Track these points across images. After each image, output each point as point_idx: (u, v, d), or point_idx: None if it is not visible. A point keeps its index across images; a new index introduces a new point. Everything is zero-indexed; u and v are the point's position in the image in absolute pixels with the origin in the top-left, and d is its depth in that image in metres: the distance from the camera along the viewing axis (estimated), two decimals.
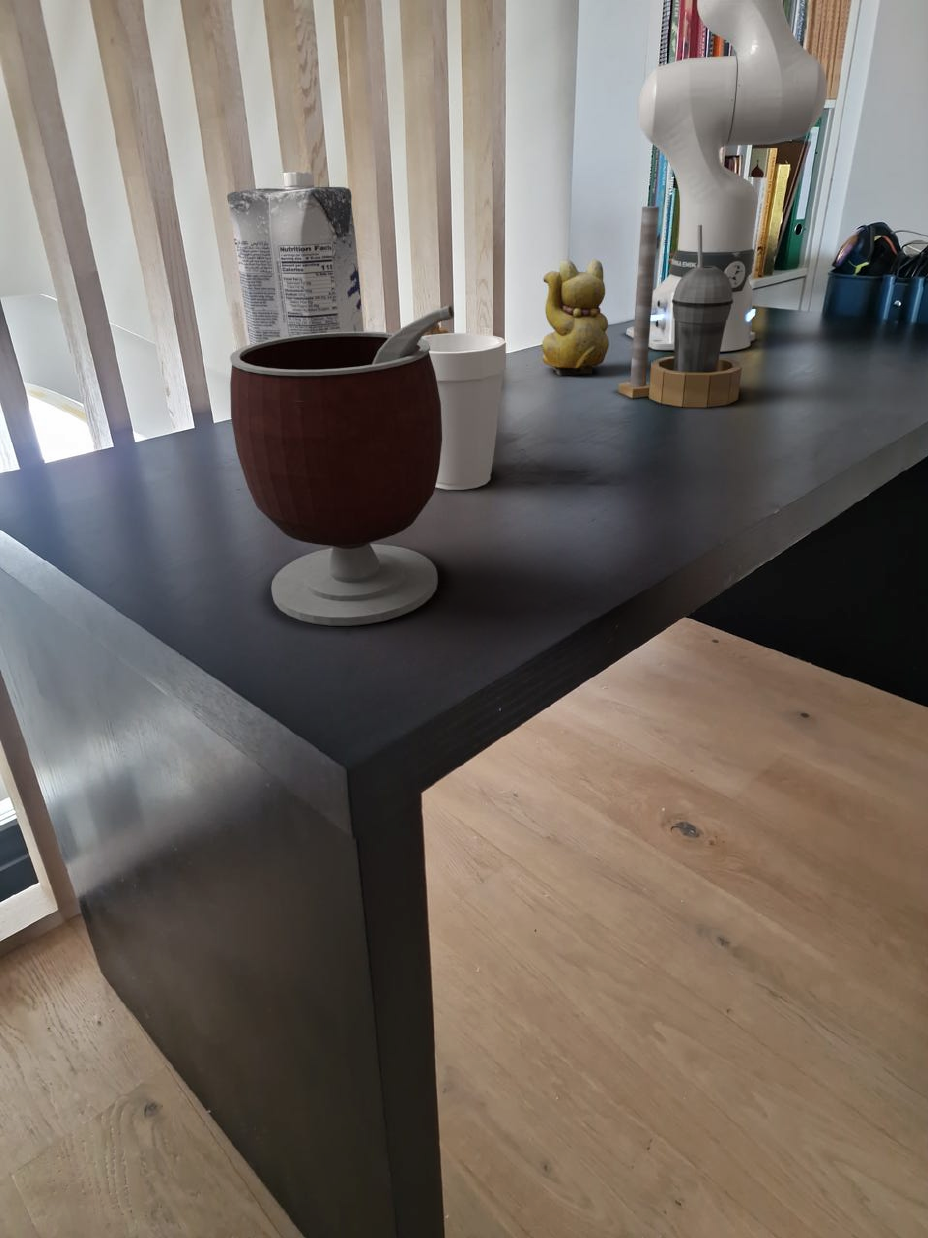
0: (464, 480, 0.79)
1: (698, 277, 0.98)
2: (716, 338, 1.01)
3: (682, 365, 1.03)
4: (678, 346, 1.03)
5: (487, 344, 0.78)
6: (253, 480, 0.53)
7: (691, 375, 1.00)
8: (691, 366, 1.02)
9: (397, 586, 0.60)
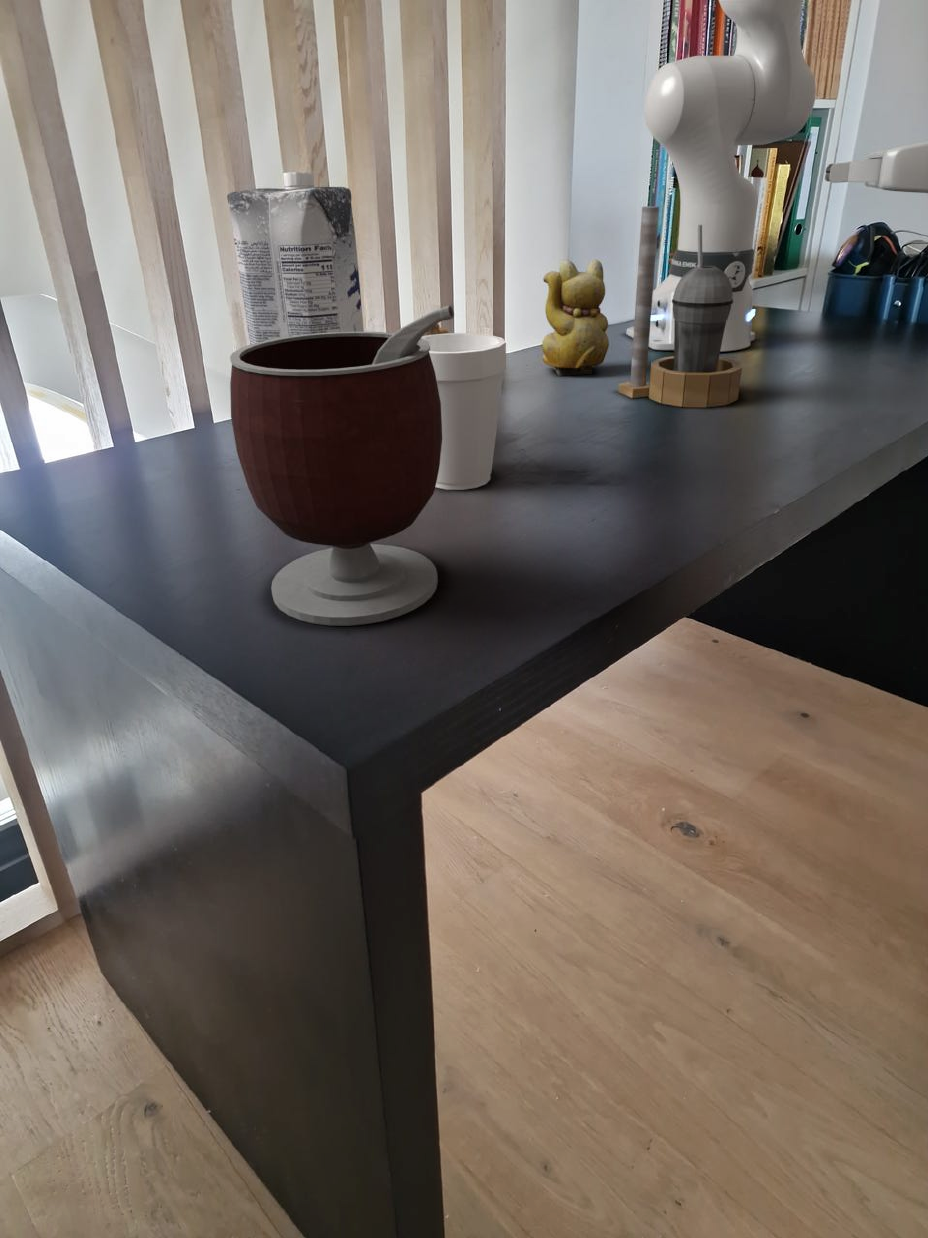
0: (464, 480, 0.79)
1: (698, 277, 0.98)
2: (716, 338, 1.01)
3: (682, 365, 1.03)
4: (678, 346, 1.03)
5: (487, 344, 0.78)
6: (253, 480, 0.53)
7: (691, 375, 1.00)
8: (691, 366, 1.02)
9: (397, 586, 0.60)
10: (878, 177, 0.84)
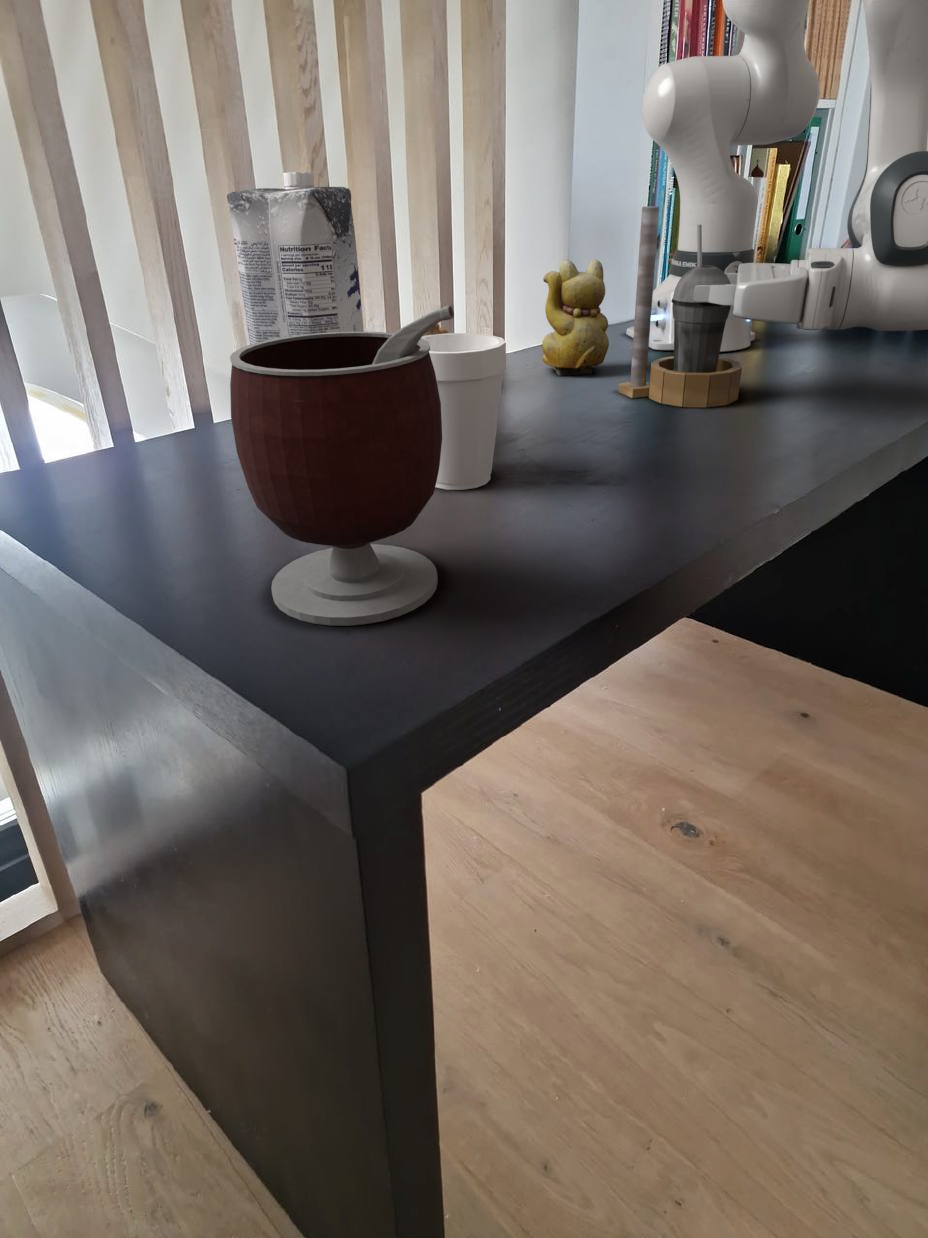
0: (464, 480, 0.79)
1: (698, 277, 0.98)
2: (716, 338, 1.01)
3: (682, 365, 1.03)
4: (678, 346, 1.03)
5: (487, 344, 0.78)
6: (253, 480, 0.53)
7: (691, 375, 1.00)
8: (691, 366, 1.02)
9: (397, 586, 0.60)
10: (733, 302, 0.95)
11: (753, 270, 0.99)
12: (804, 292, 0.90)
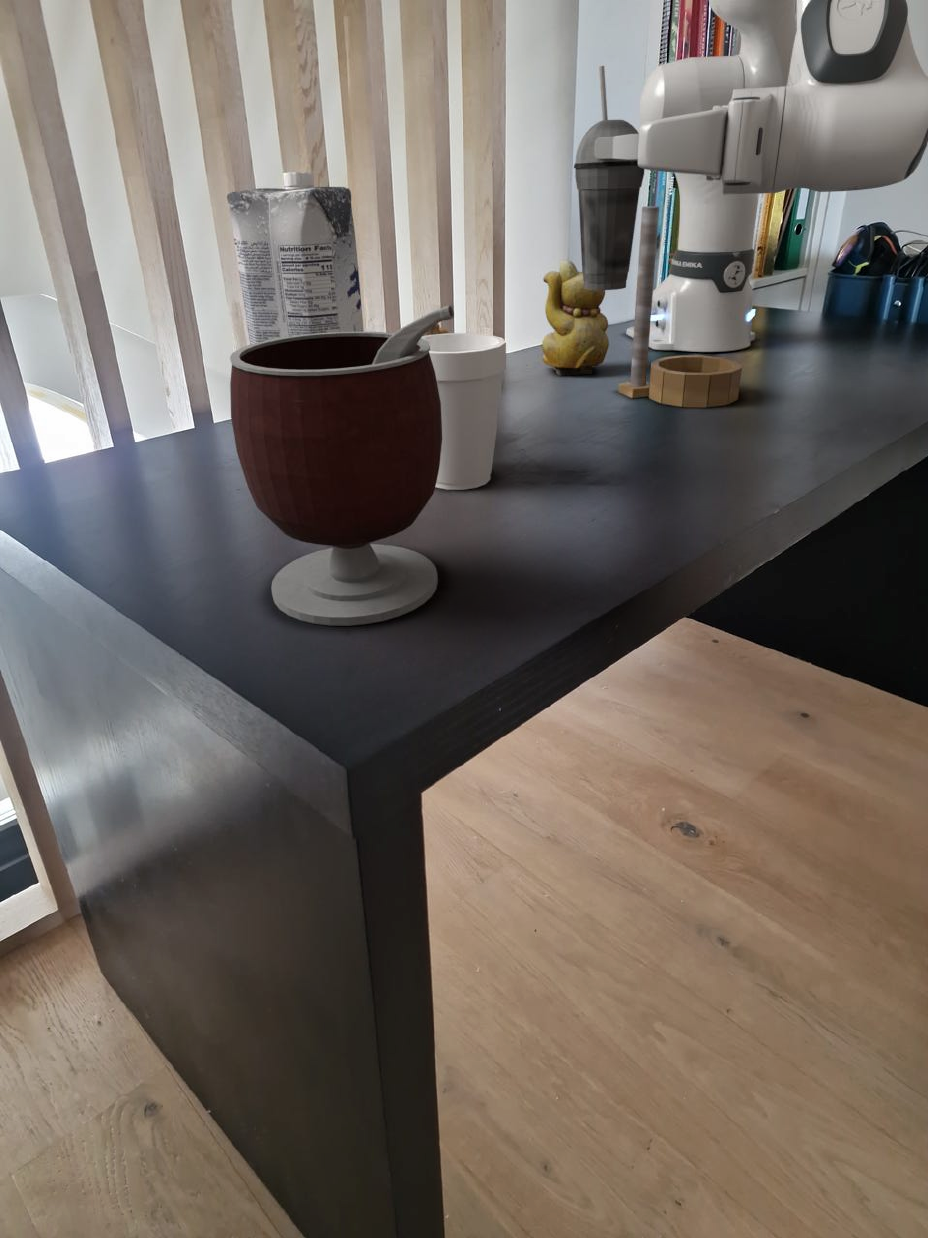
0: (464, 480, 0.79)
1: (601, 130, 0.80)
2: (627, 209, 0.83)
3: (589, 245, 0.85)
4: (583, 222, 0.85)
5: (487, 344, 0.78)
6: (253, 480, 0.53)
7: (691, 375, 1.00)
8: (599, 245, 0.85)
9: (397, 586, 0.60)
10: None
11: None
12: (723, 132, 0.73)
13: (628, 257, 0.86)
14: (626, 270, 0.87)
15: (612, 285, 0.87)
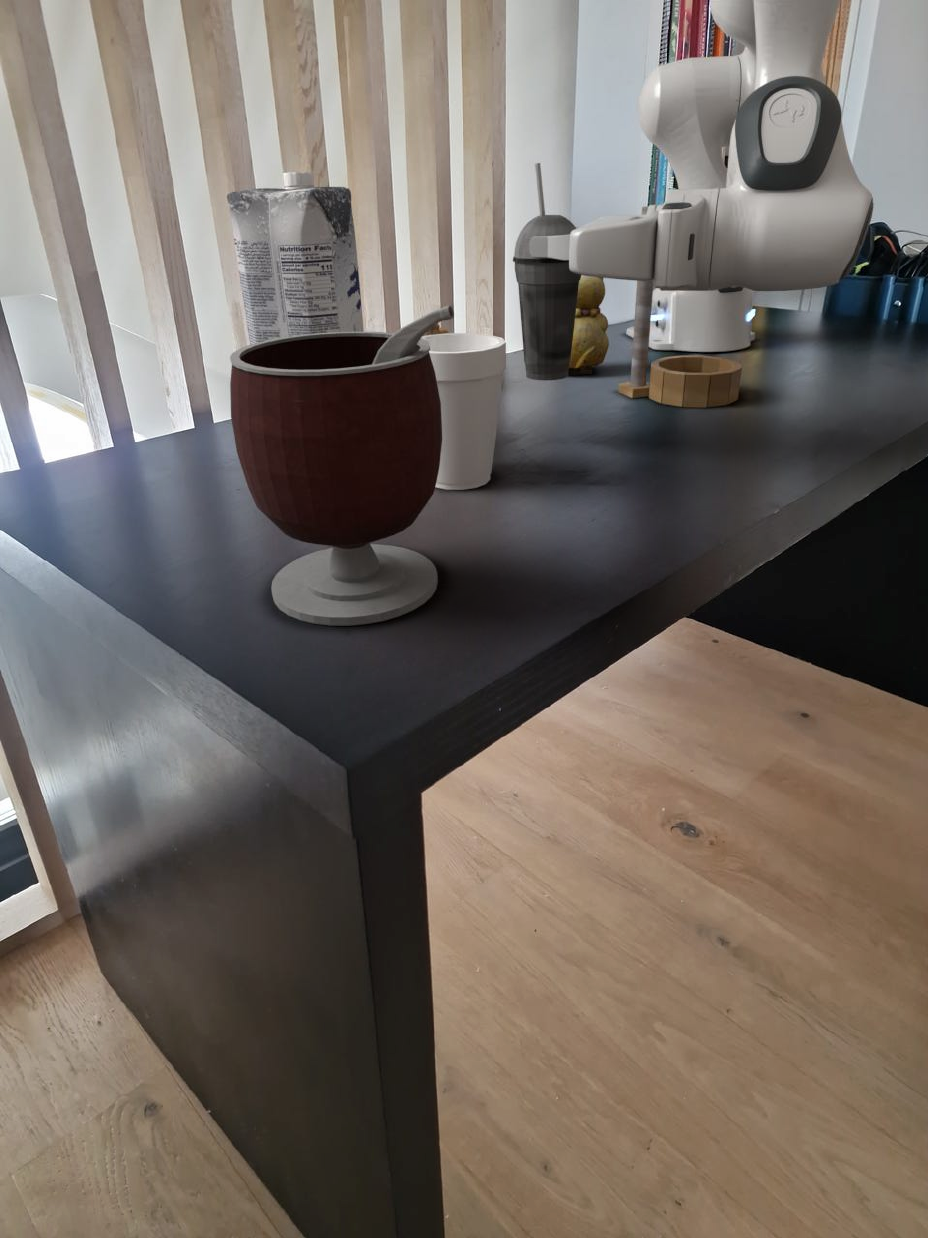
0: (464, 480, 0.79)
1: (538, 227, 0.80)
2: (565, 303, 0.83)
3: (529, 337, 0.85)
4: (523, 314, 0.85)
5: (487, 344, 0.78)
6: (253, 480, 0.53)
7: (691, 375, 1.00)
8: (538, 338, 0.84)
9: (397, 586, 0.60)
10: None
11: (607, 220, 0.81)
12: (653, 240, 0.72)
13: (569, 348, 0.86)
14: (567, 360, 0.86)
15: (553, 375, 0.86)
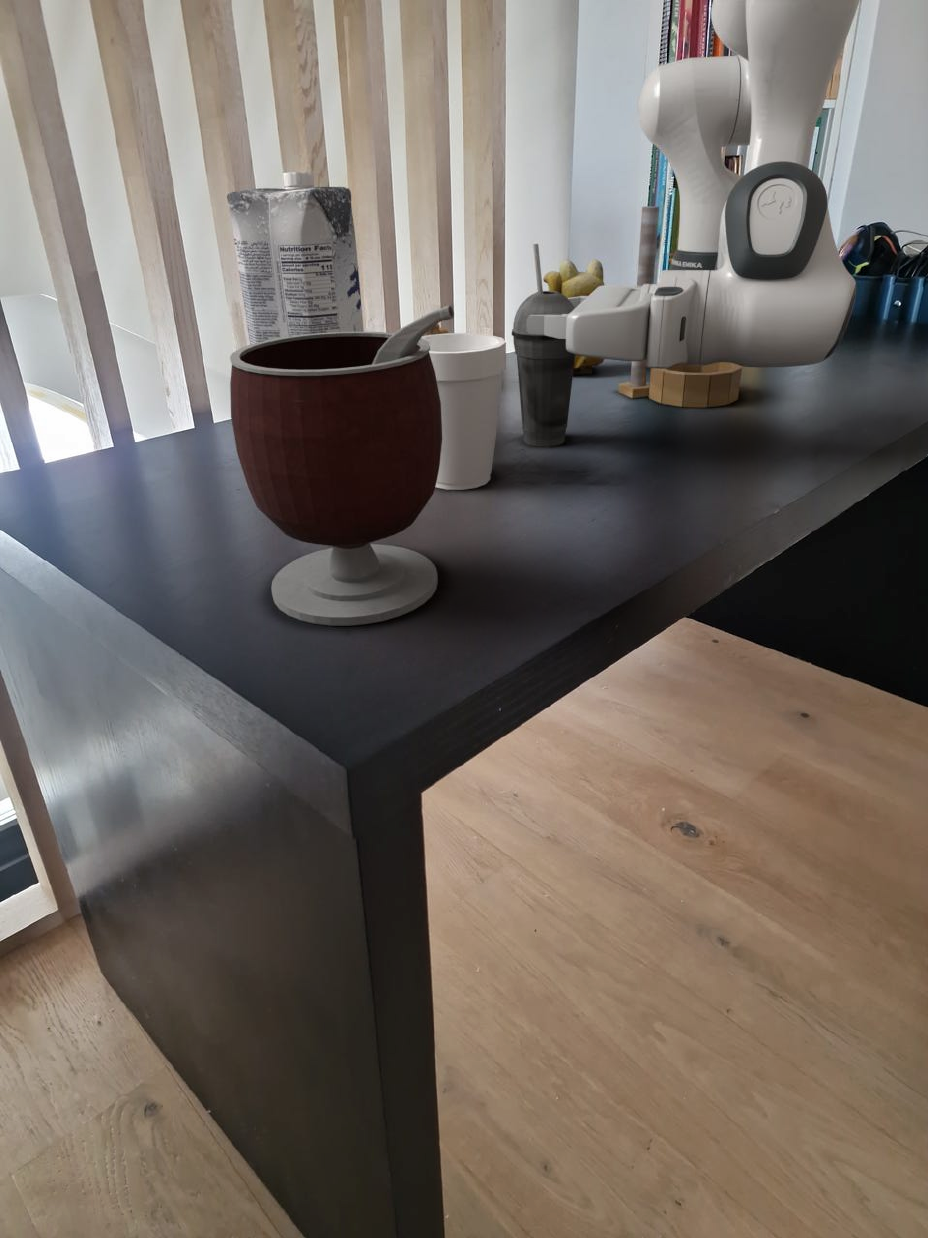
0: (464, 480, 0.79)
1: (536, 305, 0.83)
2: (562, 375, 0.86)
3: (527, 406, 0.88)
4: (521, 384, 0.88)
5: (487, 344, 0.78)
6: (253, 480, 0.53)
7: (691, 375, 1.00)
8: (536, 407, 0.88)
9: (397, 586, 0.60)
10: None
11: (603, 295, 0.85)
12: (646, 324, 0.75)
13: (565, 416, 0.89)
14: (564, 427, 0.90)
15: (550, 442, 0.90)
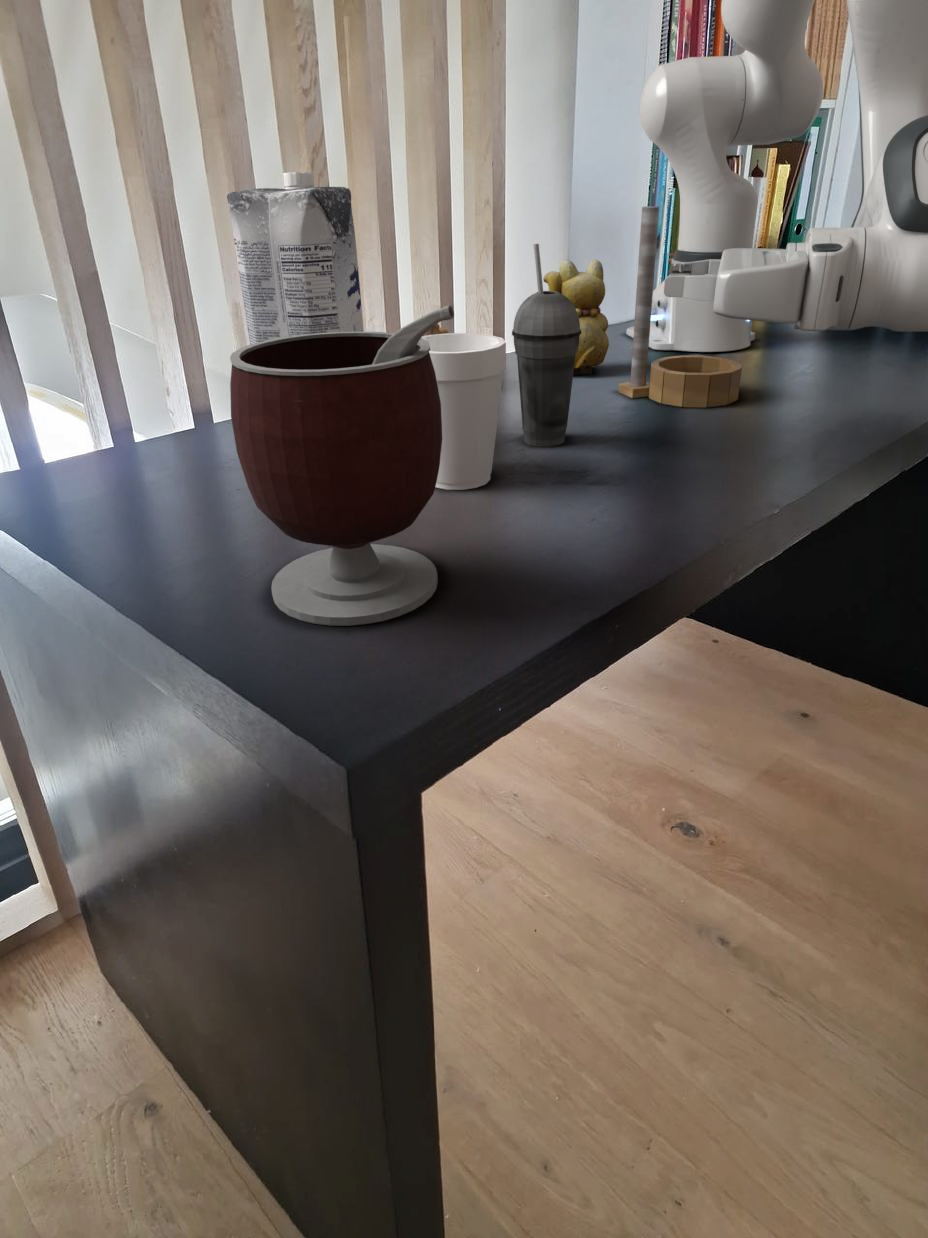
0: (464, 480, 0.79)
1: (536, 305, 0.83)
2: (562, 375, 0.86)
3: (527, 406, 0.88)
4: (521, 384, 0.88)
5: (487, 344, 0.78)
6: (253, 480, 0.53)
7: (691, 375, 1.00)
8: (536, 407, 0.88)
9: (397, 586, 0.60)
10: (714, 297, 0.74)
11: (740, 256, 0.80)
12: (804, 283, 0.70)
13: (565, 416, 0.89)
14: (564, 427, 0.90)
15: (550, 442, 0.90)
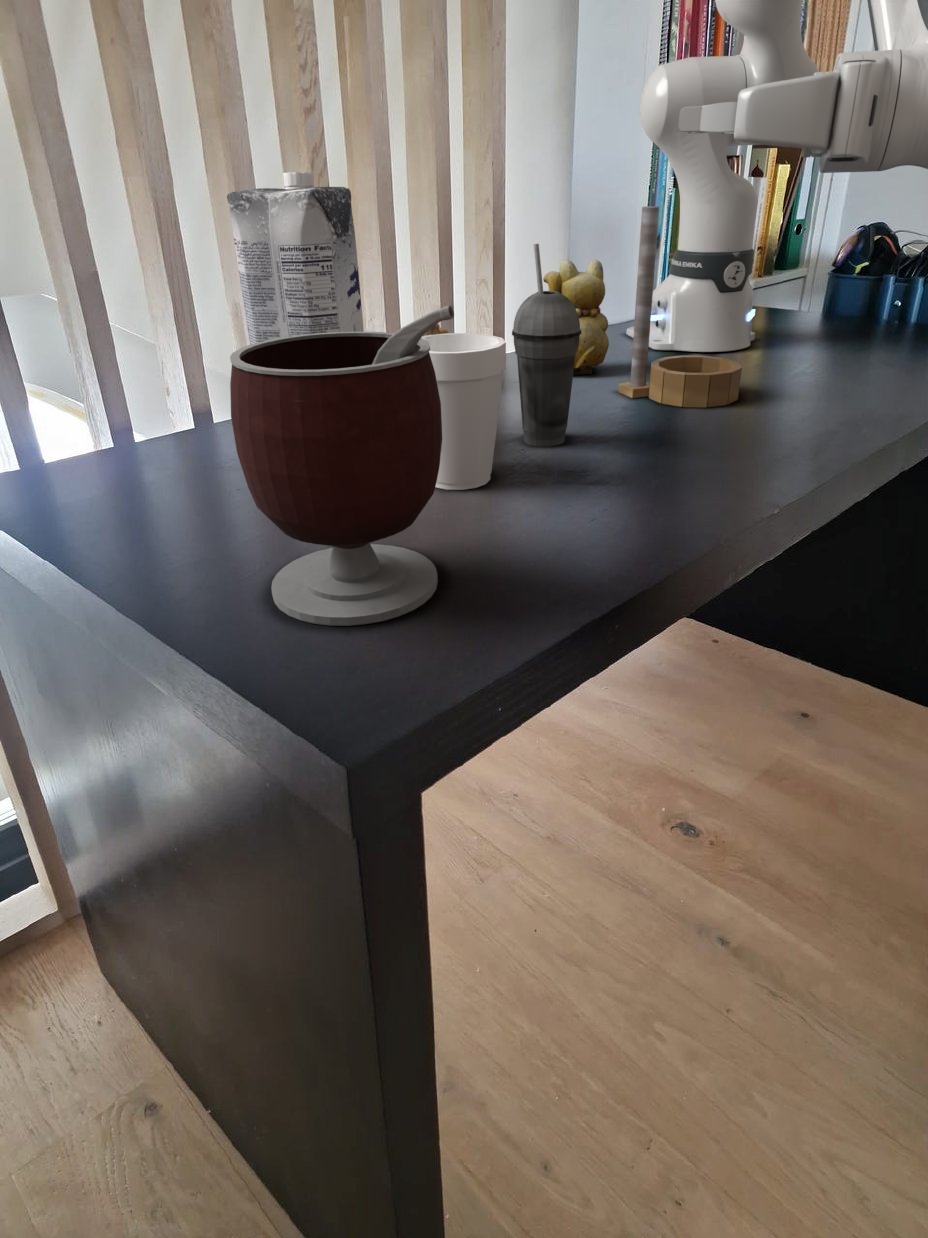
0: (464, 480, 0.79)
1: (536, 305, 0.83)
2: (562, 375, 0.86)
3: (527, 406, 0.88)
4: (521, 384, 0.88)
5: (487, 344, 0.78)
6: (253, 480, 0.53)
7: (691, 375, 1.00)
8: (536, 407, 0.88)
9: (397, 586, 0.60)
10: (734, 126, 0.68)
11: None
12: (834, 99, 0.64)
13: (565, 416, 0.89)
14: (564, 427, 0.90)
15: (550, 442, 0.90)
